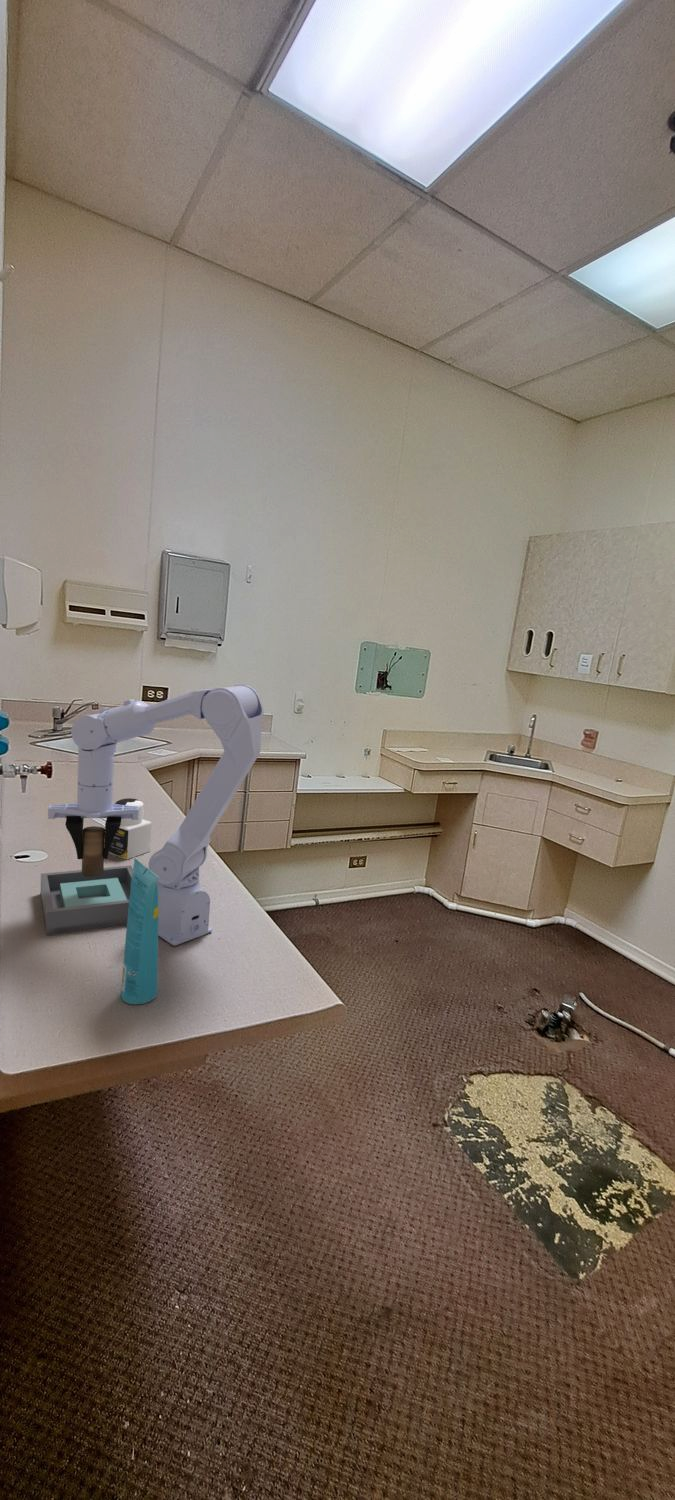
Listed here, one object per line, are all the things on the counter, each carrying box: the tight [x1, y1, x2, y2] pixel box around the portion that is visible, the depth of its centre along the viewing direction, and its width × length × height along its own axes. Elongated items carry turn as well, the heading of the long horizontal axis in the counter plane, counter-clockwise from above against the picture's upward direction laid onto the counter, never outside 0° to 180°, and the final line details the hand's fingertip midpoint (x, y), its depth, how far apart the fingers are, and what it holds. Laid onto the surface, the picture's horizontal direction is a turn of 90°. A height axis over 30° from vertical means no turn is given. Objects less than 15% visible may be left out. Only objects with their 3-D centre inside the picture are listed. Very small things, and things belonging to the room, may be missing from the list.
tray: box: [40, 864, 133, 936], centre depth 108 cm, size 16×16×4 cm
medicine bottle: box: [104, 797, 152, 860], centre depth 134 cm, size 7×7×12 cm
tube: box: [120, 857, 159, 1005], centre depth 83 cm, size 7×5×19 cm, turn 47°
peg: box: [81, 825, 105, 877], centre depth 106 cm, size 4×4×8 cm
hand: (93, 857), depth 106 cm, fingers closed on peg, 4 cm apart
